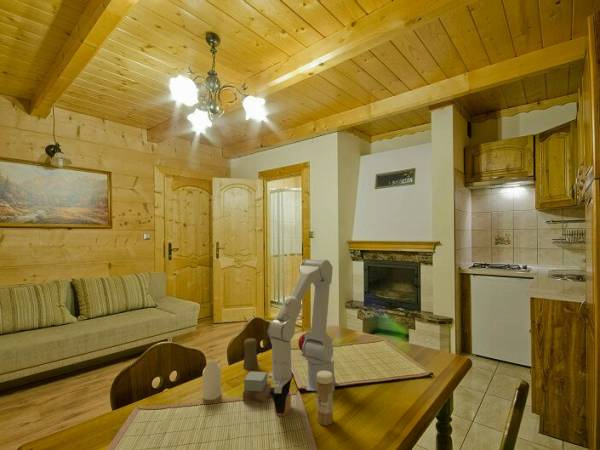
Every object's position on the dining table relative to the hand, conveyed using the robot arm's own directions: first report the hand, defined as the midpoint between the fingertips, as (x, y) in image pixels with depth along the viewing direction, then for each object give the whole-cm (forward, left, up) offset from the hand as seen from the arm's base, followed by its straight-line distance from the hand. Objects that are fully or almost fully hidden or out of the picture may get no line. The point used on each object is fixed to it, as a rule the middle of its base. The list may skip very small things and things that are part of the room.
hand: (282, 405), depth 94 cm
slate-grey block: (+10, -8, +1) cm, 13 cm away
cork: (+18, -30, -2) cm, 35 cm away
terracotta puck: (0, 0, -2) cm, 2 cm away
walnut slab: (+10, -8, -2) cm, 13 cm away
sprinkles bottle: (-13, +4, -2) cm, 14 cm away
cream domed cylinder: (+25, -7, -2) cm, 26 cm away
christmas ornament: (-4, -45, -2) cm, 45 cm away
